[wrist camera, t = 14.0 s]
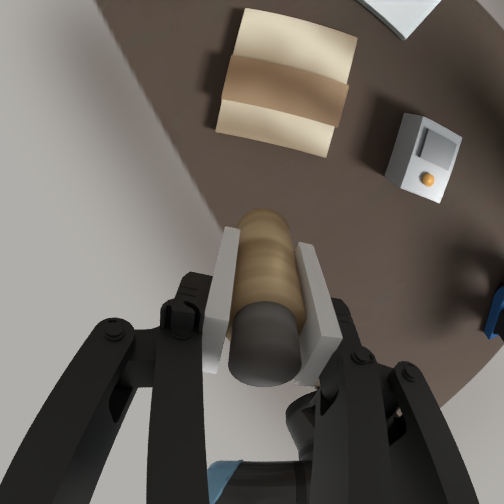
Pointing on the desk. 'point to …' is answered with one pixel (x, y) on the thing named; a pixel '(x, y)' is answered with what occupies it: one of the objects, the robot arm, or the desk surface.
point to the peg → (265, 303)
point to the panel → (286, 82)
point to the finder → (423, 157)
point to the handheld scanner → (496, 316)
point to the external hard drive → (400, 13)
